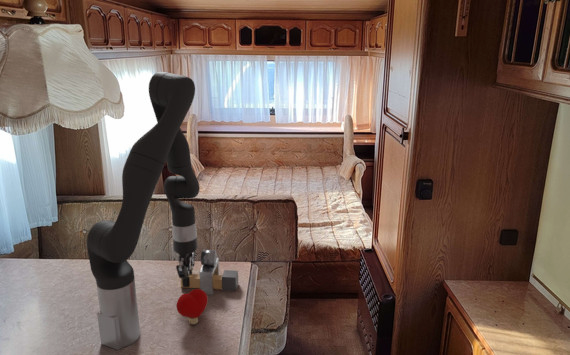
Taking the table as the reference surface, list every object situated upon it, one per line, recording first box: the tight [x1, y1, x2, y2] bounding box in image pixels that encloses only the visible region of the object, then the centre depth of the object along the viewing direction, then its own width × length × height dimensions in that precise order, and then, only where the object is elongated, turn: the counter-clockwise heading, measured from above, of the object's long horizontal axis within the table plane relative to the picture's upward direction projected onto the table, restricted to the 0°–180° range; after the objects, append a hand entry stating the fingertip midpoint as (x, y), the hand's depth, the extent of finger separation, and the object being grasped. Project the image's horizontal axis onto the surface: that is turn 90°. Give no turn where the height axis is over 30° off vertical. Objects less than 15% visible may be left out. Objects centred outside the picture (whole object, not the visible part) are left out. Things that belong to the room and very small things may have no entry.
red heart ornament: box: [175, 288, 209, 326], centre depth 120 cm, size 9×7×10 cm
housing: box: [198, 249, 220, 296], centre depth 139 cm, size 4×10×13 cm, turn 176°
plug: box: [180, 269, 239, 292], centre depth 140 cm, size 18×4×5 cm, turn 86°
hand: (187, 283), depth 141 cm, fingers closed on plug, 2 cm apart
